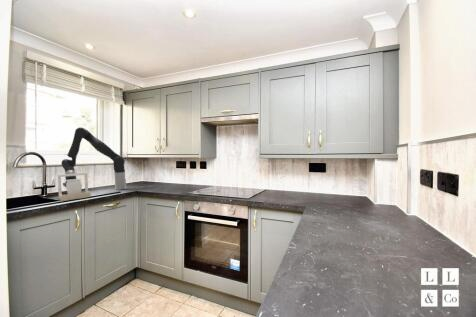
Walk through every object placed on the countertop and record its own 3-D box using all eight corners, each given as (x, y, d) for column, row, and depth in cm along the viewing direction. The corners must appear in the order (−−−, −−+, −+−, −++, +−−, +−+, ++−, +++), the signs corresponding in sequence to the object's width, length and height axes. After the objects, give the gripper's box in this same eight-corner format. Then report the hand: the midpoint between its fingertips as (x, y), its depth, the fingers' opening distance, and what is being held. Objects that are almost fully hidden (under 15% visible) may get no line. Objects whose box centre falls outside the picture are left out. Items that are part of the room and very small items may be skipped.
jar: (63, 198, 178) (62, 180, 177) (76, 195, 188) (75, 178, 187) (73, 198, 175) (72, 180, 174) (85, 195, 185) (84, 178, 184)
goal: (58, 198, 176) (57, 174, 176) (88, 194, 190) (86, 172, 190) (60, 200, 166) (58, 175, 166) (91, 196, 180) (90, 173, 180)
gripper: (61, 174, 187) (63, 189, 178) (79, 172, 196) (82, 187, 187) (61, 179, 191) (62, 195, 182) (79, 178, 200) (81, 192, 191)
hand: (72, 191), depth 185 cm, fingers closed
